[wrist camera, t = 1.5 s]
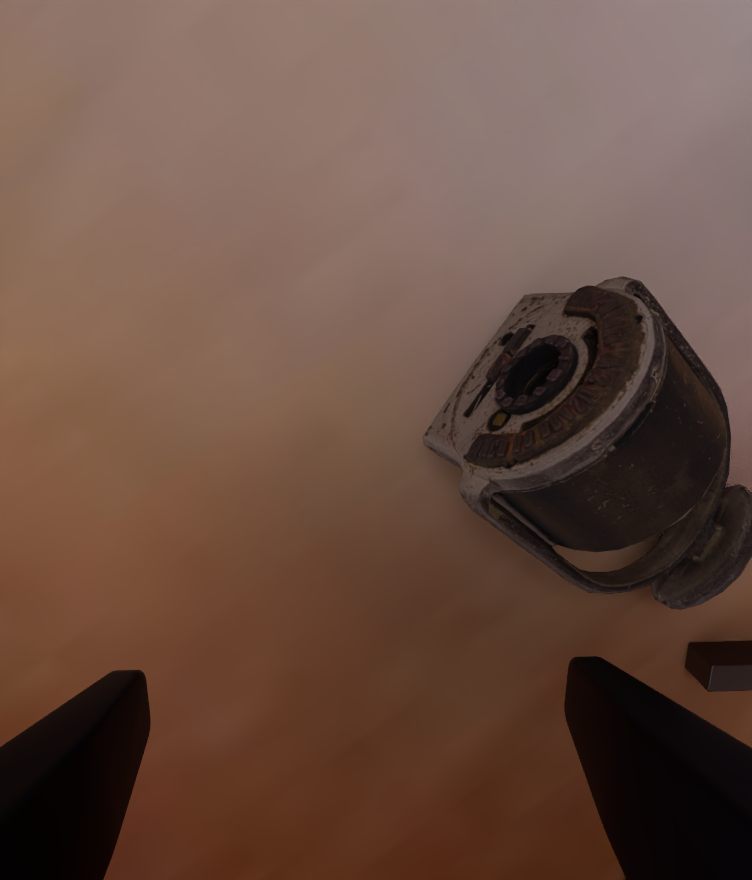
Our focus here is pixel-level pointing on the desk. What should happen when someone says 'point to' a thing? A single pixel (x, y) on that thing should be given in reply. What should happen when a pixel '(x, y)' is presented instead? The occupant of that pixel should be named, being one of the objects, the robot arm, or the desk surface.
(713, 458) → the mechanical counter
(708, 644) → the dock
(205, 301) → the desk surface
